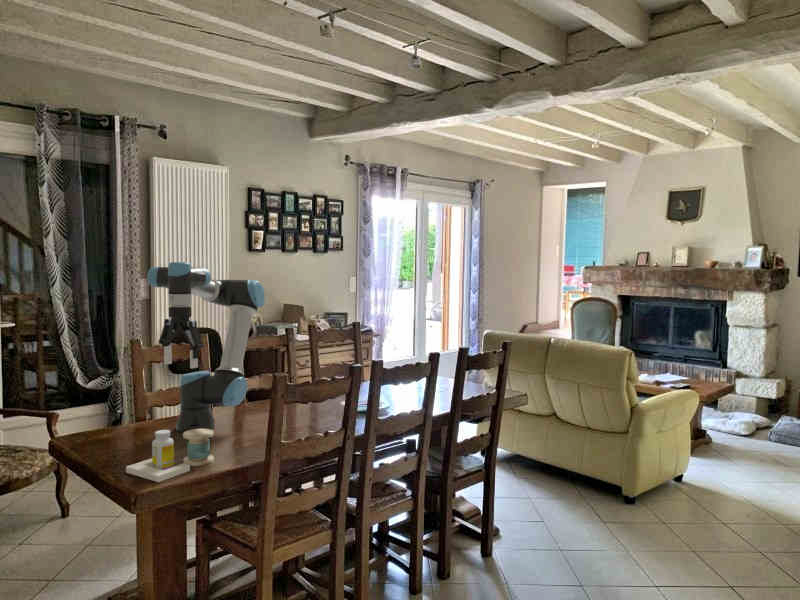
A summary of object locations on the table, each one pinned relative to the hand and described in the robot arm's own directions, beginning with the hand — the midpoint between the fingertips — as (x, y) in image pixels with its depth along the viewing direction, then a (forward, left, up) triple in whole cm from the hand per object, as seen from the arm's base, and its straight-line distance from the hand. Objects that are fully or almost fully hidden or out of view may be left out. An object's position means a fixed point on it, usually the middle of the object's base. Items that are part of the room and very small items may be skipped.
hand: (180, 366), depth 210 cm
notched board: (+16, +8, -32) cm, 36 cm away
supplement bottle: (+14, +8, -32) cm, 36 cm away
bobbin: (+2, +11, -32) cm, 34 cm away
